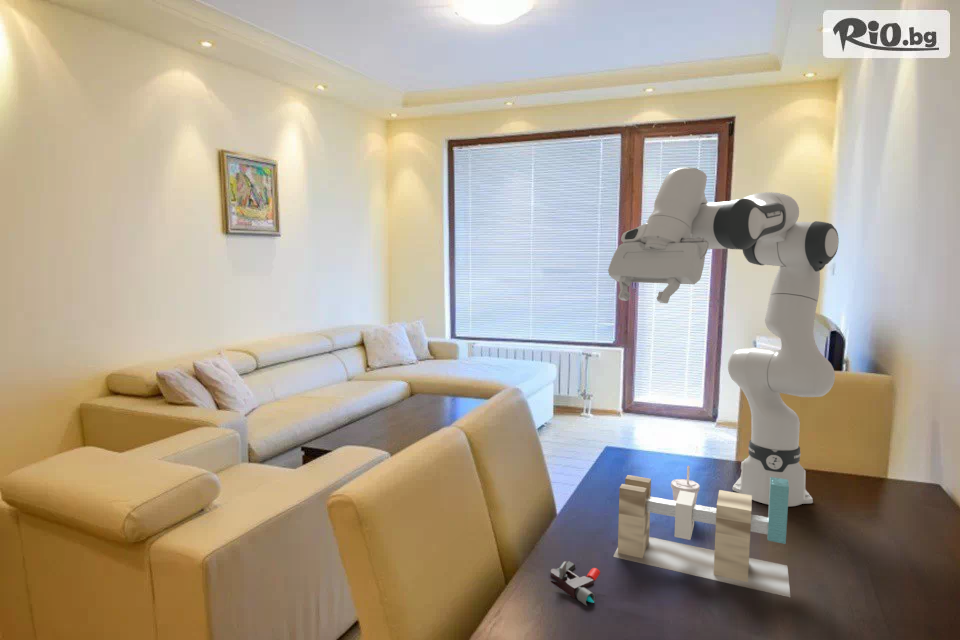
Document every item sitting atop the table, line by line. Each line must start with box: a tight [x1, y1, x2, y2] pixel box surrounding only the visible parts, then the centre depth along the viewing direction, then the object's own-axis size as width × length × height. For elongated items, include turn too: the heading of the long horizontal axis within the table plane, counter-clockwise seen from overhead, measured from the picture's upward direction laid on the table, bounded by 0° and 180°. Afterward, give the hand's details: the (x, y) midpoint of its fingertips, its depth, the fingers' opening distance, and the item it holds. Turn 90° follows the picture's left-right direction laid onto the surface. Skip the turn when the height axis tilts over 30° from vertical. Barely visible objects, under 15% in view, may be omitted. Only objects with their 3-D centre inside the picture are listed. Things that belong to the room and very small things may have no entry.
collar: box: [673, 491, 695, 541], centre depth 114 cm, size 7×3×7 cm, turn 154°
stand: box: [613, 474, 791, 598], centre depth 113 cm, size 12×32×15 cm, turn 64°
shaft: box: [646, 477, 789, 545], centre depth 112 cm, size 4×27×11 cm, turn 64°
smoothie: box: [670, 465, 701, 505], centre depth 133 cm, size 6×6×14 cm
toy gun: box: [550, 560, 601, 607], centre depth 107 cm, size 10×12×5 cm
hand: (641, 300), depth 111 cm, fingers open, 8 cm apart
